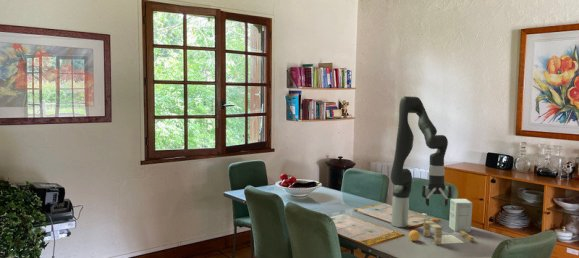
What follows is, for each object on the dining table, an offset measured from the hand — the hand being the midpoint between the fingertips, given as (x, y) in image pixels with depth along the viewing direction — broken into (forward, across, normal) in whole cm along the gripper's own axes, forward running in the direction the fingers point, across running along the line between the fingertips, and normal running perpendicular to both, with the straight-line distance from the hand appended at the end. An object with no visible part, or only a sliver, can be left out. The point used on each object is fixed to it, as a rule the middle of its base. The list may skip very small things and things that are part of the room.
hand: (436, 205), depth 231 cm
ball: (+17, +10, -6) cm, 21 cm away
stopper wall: (+20, -18, -14) cm, 31 cm away
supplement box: (+19, -19, -31) cm, 41 cm away
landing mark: (+20, -8, -11) cm, 24 cm away
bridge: (+20, +1, -9) cm, 22 cm away
